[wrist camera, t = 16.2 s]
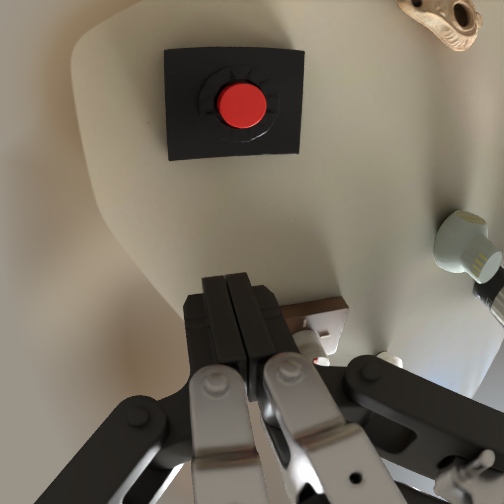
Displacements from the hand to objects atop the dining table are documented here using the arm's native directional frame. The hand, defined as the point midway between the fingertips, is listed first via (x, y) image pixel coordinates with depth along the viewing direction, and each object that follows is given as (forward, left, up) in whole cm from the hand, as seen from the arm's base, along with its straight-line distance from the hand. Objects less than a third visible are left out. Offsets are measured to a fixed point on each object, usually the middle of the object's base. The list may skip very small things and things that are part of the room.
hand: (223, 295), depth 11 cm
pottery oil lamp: (+26, +18, -21) cm, 38 cm away
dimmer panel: (+13, -27, -21) cm, 36 cm away
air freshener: (+38, -13, -21) cm, 45 cm away
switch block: (+4, +4, -21) cm, 22 cm away
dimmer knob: (+13, -27, -19) cm, 35 cm away
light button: (+4, +4, -17) cm, 18 cm away
